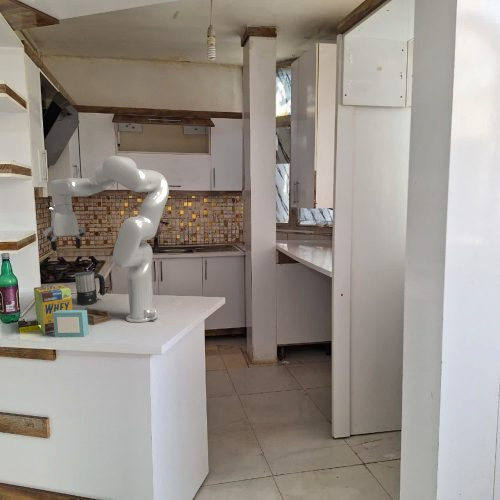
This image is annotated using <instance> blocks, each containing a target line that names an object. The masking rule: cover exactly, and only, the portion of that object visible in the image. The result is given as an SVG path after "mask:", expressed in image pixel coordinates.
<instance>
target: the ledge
mask: <svg viewBox="0 0 500 500" xmlns="http://www.w3.org/2000/svg"><path fill="white" fill-rule="evenodd" d="M84 310H87V318H88V325H93V326H94V325H98V324H101V323H104V322H108V321H110V320H111V311H109V310H103V309H96V308H89V307H86V308H84Z"/></svg>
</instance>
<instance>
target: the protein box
mask: <svg viewBox="0 0 500 500" xmlns="http://www.w3.org/2000/svg"><path fill="white" fill-rule="evenodd" d="M33 294H34V305H35V315H36V316H35V318H36V322H37V321H38V322H39V323H40V325H41V329H40V331H41V332H42V333H43V334H44V335H47V334H48V335H49V334H55V331H54V320H53V312H55V311H58V310H73V300H72V299H73V297H72V289H71V288H69V287H67V286H65V285H63V284H55V285H54V284H53V285H47V286H37V287H33Z"/></svg>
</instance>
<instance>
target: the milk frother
mask: <svg viewBox="0 0 500 500" xmlns="http://www.w3.org/2000/svg"><path fill="white" fill-rule="evenodd" d="M74 277H75V289H76V300H77V301H76V302H77V303H76V304H77V305H78V306H87V305H89V306H90V305H94V304H96V303H98V300H97V298H98V295H97V285H96V279H98V282H99V283H98V284H99V294H100V296H104V295H106V287H105V286H106V282H105V277H104V275H102V274H99V273H95V271H80V272H76V273H74Z"/></svg>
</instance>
